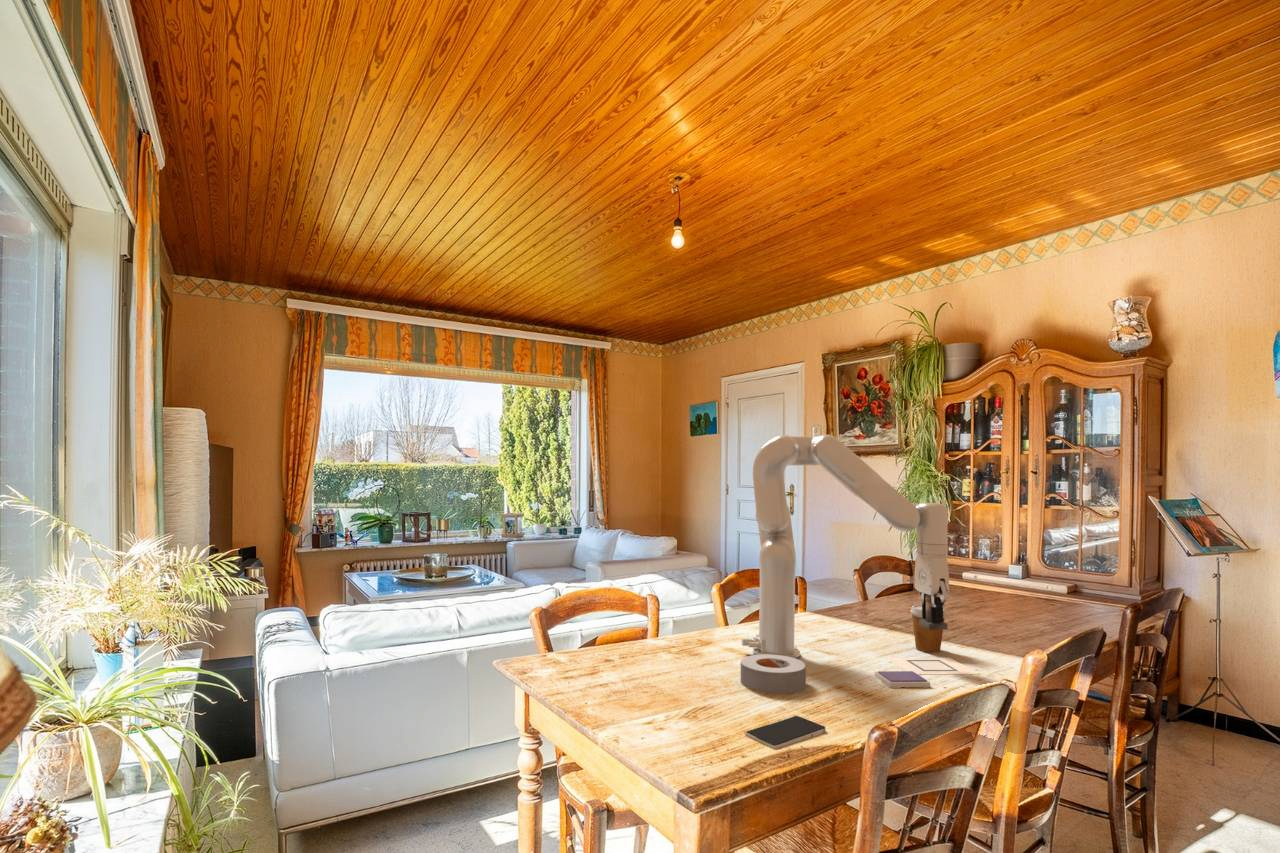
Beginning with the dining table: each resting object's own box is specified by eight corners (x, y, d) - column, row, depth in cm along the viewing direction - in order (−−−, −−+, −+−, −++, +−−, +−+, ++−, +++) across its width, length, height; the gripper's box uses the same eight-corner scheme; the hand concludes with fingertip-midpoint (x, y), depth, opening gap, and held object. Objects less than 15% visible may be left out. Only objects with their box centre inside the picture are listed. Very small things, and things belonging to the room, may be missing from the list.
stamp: (929, 629, 178) (928, 594, 178) (919, 625, 182) (919, 590, 183) (947, 629, 178) (947, 594, 178) (937, 624, 183) (937, 590, 183)
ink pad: (889, 687, 162) (889, 681, 162) (874, 676, 170) (874, 670, 170) (930, 687, 163) (930, 681, 163) (913, 676, 171) (913, 670, 171)
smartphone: (743, 731, 132) (795, 714, 141) (743, 738, 132) (795, 720, 141) (775, 746, 126) (827, 727, 135) (775, 752, 126) (827, 733, 135)
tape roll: (726, 681, 165) (727, 660, 165) (768, 670, 174) (768, 650, 175) (778, 699, 153) (778, 676, 153) (819, 686, 163) (819, 664, 163)
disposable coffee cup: (952, 655, 190) (952, 612, 191) (917, 654, 191) (917, 611, 191) (937, 646, 200) (938, 604, 201) (904, 645, 200) (905, 604, 201)
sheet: (911, 675, 172) (911, 673, 172) (886, 659, 186) (886, 657, 186) (979, 674, 174) (979, 673, 174) (949, 658, 188) (949, 657, 188)
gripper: (903, 546, 189) (903, 613, 188) (934, 554, 173) (935, 628, 172) (929, 546, 190) (930, 613, 189) (963, 554, 173) (964, 628, 172)
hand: (932, 619), depth 180 cm, fingers closed on stamp, 3 cm apart
